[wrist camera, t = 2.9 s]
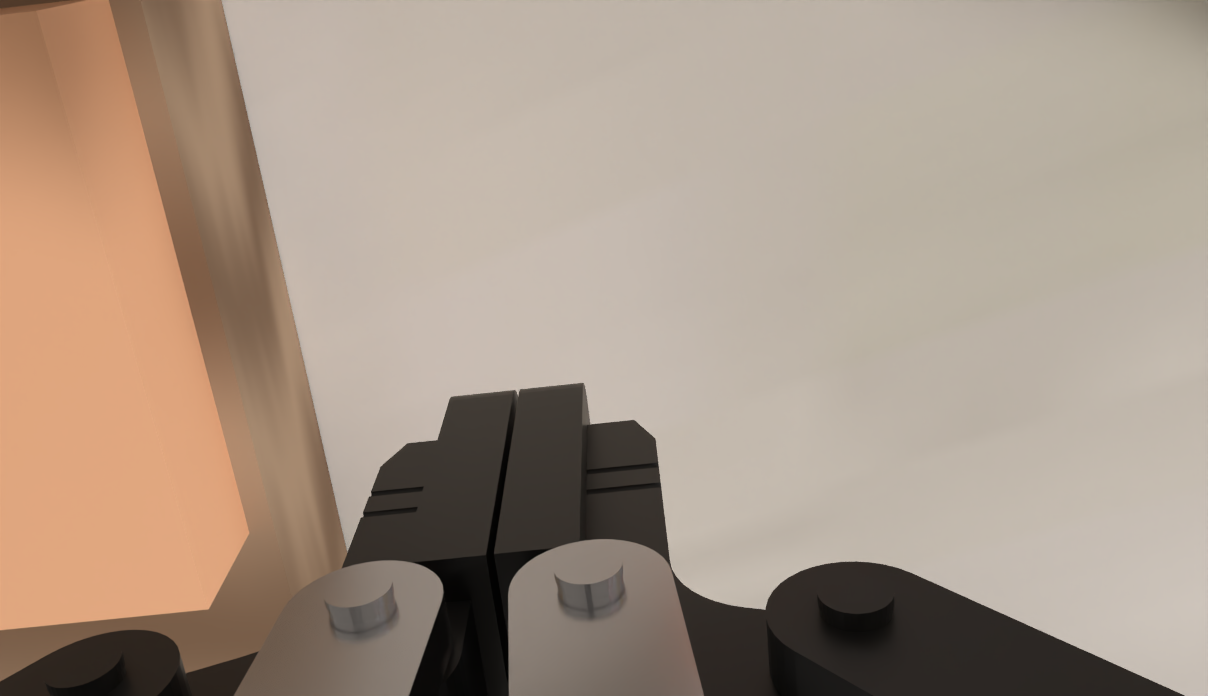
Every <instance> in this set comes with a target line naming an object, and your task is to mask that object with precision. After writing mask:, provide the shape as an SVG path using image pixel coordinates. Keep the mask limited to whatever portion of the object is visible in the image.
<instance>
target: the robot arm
mask: <svg viewBox="0 0 1208 696" xmlns="http://www.w3.org/2000/svg"><path fill="white" fill-rule="evenodd" d="M363 515H364V517H362V518H361V519H360V522H359V524H358V527H357V530H356V532H355V535H354V537H353V540H352V543H351V545H350V548H349V550H348V553H347V555H346V558H345V561H344V563H343V566H342V568H341V569H339V570H336V571H334V572H331V573H329V574H327V575H325V576H322V577H320V578H318V579H316V580H315V581H313V582H311V583H310V584H308V585H307V586H305V587H304V588H303V589H301V590H300V591H299V592H297V593H296V594H295V595H294V596H293V597H292V598H291V599H290V600H289V601H288V603H287V604H286V606H285V607H284V608H283V610H282V612H281V613H280V615H279V617H278V619H277V620H276V622H275V624H274V626H273V627H272V629H271V631H270V633H269V634H268V636H267V638H266V640H265V641H264V643H263V645H262V647H261V649H260V650H259V651H258V652H255V653H252V654H249V655H246V656H243V657H240V658H236V659H233V660H229V661H226V662H222V663H219V664H216V665H212V666H209V667H205V668H202V669H199V670H195V671H192V672H188V673H186V672H185V669H184V665H183V662H182V659H181V655H180V652H179V648H178V646H177V645H176V643H175V642H174V641H173V640H172V639H170V638H169V637H168V636H166V635H163V634H161V633H158V632H154V631H148V630H121V631H115V632H108V633H104V634H100V635H96V636H92V637H89V638H86V639H83V640H80V641H77V642H74V643H72V644H69V645H67V646H65V647H62V648H60V649H58V650H56V651H54V652H52V653H50V654H48V655H46V656H45V657H43V658H41V659H39V660H37V661H36V662H34V663H32V664H30V665H29V666H27V667H25V668H23V669H22V670H20V671H18V672H16V673H14V674H13V675H11V676H9V677H7V678H6V679H4V680H2V681H0V696H1184V695H1182V694H1180V693H1178V692H1175V691H1173V690H1171V689H1169V688H1166V687H1164V686H1162V685H1160V684H1157V683H1155V682H1153V681H1151V680H1149V679H1146V678H1144V677H1142V676H1140V675H1137V674H1135V673H1133V672H1131V671H1128V670H1126V669H1124V668H1122V667H1120V666H1117V665H1115V664H1113V663H1111V662H1108V661H1106V660H1104V659H1102V658H1100V657H1097V656H1095V655H1093V654H1091V653H1088V652H1086V651H1084V650H1082V649H1079V648H1077V647H1075V646H1073V645H1071V644H1068V643H1066V642H1064V641H1062V640H1059V639H1057V638H1055V637H1053V636H1050V635H1048V634H1046V633H1044V632H1042V631H1039V630H1037V629H1035V628H1033V627H1030V626H1028V625H1026V624H1024V623H1021V622H1019V621H1017V620H1015V619H1013V618H1010V617H1008V616H1006V615H1004V614H1001V613H999V612H997V611H995V610H993V609H990V608H988V607H986V606H984V605H981V604H979V603H977V602H975V601H972V600H970V599H968V598H966V597H964V596H961V595H959V594H957V593H955V592H952V591H950V590H948V589H946V588H943V587H941V586H939V585H937V584H935V583H932V582H930V581H928V580H926V579H923V578H921V577H919V576H917V575H914V574H912V573H910V572H907V571H904V570H902V569H899V568H895V567H891V566H887V565H883V564H876V563H869V562H838V563H830V564H824V565H820V566H815V567H812V568H809V569H806V570H803V571H800V572H798V573H796V574H795V575H793V576H791V577H789V578H787V579H786V580H785V581H783V582H782V583H780V584H779V585H778V587H777V588H776V589H775V590H774V591H773V592H772V594H771V595H770V597H769V599H768V602H767V605H766V610H762V609H753V608H744V607H738V606H731V605H727V604H723V603H719V602H715V601H713V600H710V599H707V598H705V597H702V596H700V595H699V594H697V593H695V592H693V591H691V590H690V589H689V588H687V587H686V586H685V585H683V584H682V583H681V582H680V580H679V579H678V578H677V577H676V576H675V574H674V572H673V570H672V568H671V564H670V559H669V550H668V542H667V533H666V525H665V516H664V508H663V500H662V491H661V483H660V474H659V466H658V457H657V449H656V440H655V438H654V437H653V436H652V435H651V434H649V433H648V432H647V431H646V430H645V429H644V428H643V427H641V426H640V425H639V424H638V423H637V422H636V421H635V420H630V421H620V422H610V423H601V424H591V425H590V419H589V411H588V403H587V396H586V390H585V385H584V383H578V384H568V385H559V386H549V387H539V388H530V389H520V391H519V396H518V395H517V392H516V391H515V390H512V391H502V392H493V393H483V394H473V395H464V396H454V397H451V398H450V400H449V403H448V407H447V410H446V413H445V417H444V420H443V424H442V427H441V430H440V434H439V437H438V440H436V441H426V442H417V443H408V444H406V445H405V446H404V447H403V448H402V449H401V450H399V451H398V452H397V453H396V454H395V455H394V456H393V457H391V458H390V459H389V460H388V461H387V462H386V463H385V464H383V465H382V466H381V467H380V470H379V473H378V475H377V478H376V480H375V483H374V486H373V488H372V491H371V497H369V498H368V501H367V504H366V506H365V509H364V511H363Z"/></svg>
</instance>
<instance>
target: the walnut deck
mask: <svg viewBox="0 0 1208 696" xmlns="http://www.w3.org/2000/svg"><path fill="white" fill-rule="evenodd" d="M60 1H69V0H0V8H9V7H18V6H26V5H35V4H43V3H52V2H60ZM109 3H110V7H111V11H112V14H113V18H114V22H115V26H116V29H117V33H118V37H119V41H120V45H121V48H122V52H123V56H124V60H125V64H126V67H127V71H128V75H129V79H130V83H131V86H132V90H133V94H134V98H135V101H136V105H137V109H138V113H139V117H140V120H141V124H142V128H143V132H144V136H145V139H146V143H147V147H148V151H149V154H150V158H151V162H152V166H153V170H154V173H155V177H156V181H157V185H158V189H159V192H160V196H161V200H162V204H163V208H164V211H165V215H166V219H167V223H168V226H169V230H170V234H171V238H172V242H173V245H174V249H175V253H176V257H177V261H178V264H179V268H180V272H181V276H182V280H183V283H184V287H185V291H186V295H187V298H188V302H189V306H190V310H191V314H192V317H193V321H194V325H195V329H196V333H197V336H198V340H199V344H200V348H201V352H202V355H203V359H204V363H205V367H206V370H207V374H208V378H209V382H210V386H211V389H212V393H213V397H214V401H215V405H216V408H217V412H218V416H219V420H220V423H221V427H222V431H223V435H224V439H225V442H226V446H227V450H228V454H229V458H230V461H231V465H232V469H233V473H234V477H235V480H236V484H237V488H238V492H239V495H240V499H241V503H242V507H243V511H244V514H245V518H246V522H247V526H248V530H249V535H248V537H247V539H246V540H245V542H244V544H243V546H242V548H241V550H240V552H239V554H238V555H237V557H236V559H235V561H234V563H233V565H232V567H231V569H230V570H229V572H228V574H227V576H226V578H225V580H224V582H223V584H222V585H221V587H220V589H219V591H218V593H217V595H216V597H215V599H214V600H213V602H212V604H211V606H210V608H209V609H208V610H198V611H188V612H178V613H168V614H158V615H148V616H138V617H128V618H118V619H108V620H98V621H88V622H78V623H68V624H58V625H48V626H38V627H28V628H18V629H8V630H0V681H2V680H4V679H6V678H7V677H9V676H11V675H13V674H14V673H16V672H18V671H20V670H22V669H23V668H25V667H27V666H29V665H30V664H32V663H34V662H36V661H37V660H39V659H41V658H43V657H45V656H46V655H48V654H50V653H52V652H54V651H56V650H58V649H60V648H62V647H65V646H67V645H69V644H72V643H74V642H77V641H80V640H83V639H86V638H89V637H92V636H96V635H100V634H104V633H108V632H115V631H121V630H148V631H154V632H158V633H161V634H163V635H166V636H168V637H169V638H170V639H172V640H173V641H174V642H175V643H176V645H177V646H178V648H179V652H180V655H181V659H182V662H183V665H184V669H185V672H186V673H188V672H192V671H195V670H199V669H202V668H205V667H209V666H212V665H216V664H219V663H222V662H226V661H229V660H233V659H236V658H240V657H243V656H246V655H249V654H252V653H255V652H258V651H259V650H260V649H261V647H262V645H263V643H264V641H265V640H266V638H267V636H268V634H269V633H270V631H271V629H272V627H273V626H274V624H275V622H276V620H277V619H278V617H279V615H280V613H281V612H282V610H283V608H284V607H285V606H286V604H287V603H288V601H289V600H290V599H291V598H292V597H293V596H294V595H295V594H296V593H297V592H299V591H300V590H301V589H303V588H304V587H305V586H307V585H308V584H310V583H311V582H313V581H315V580H316V579H318V578H320V577H322V576H325V575H327V574H329V573H331V572H334V571H336V570H339V569H341V568H342V566H343V563H344V561H345V558H346V555H347V550H346V546H345V541H344V537H343V532H342V528H341V524H340V519H339V515H338V510H337V506H336V502H335V497H334V493H333V488H332V484H331V480H330V475H329V471H328V467H327V462H326V458H325V453H324V449H323V445H322V440H321V436H320V431H319V427H318V423H317V418H316V414H315V409H314V405H313V401H312V396H311V392H310V388H309V383H308V379H307V374H306V370H305V366H304V361H303V357H302V352H301V348H300V344H299V339H298V335H297V331H296V326H295V322H294V317H293V313H292V309H291V304H290V300H289V295H288V291H287V287H286V282H285V278H284V273H283V269H282V265H281V260H280V256H279V252H278V247H277V243H276V238H275V234H274V230H273V225H272V221H271V216H270V212H269V208H268V203H267V199H266V194H265V190H264V186H263V181H262V177H261V173H260V168H259V164H258V159H257V155H256V151H255V146H254V142H253V137H252V133H251V129H250V124H249V120H248V116H247V111H246V107H245V102H244V98H243V94H242V89H241V85H240V80H239V76H238V72H237V67H236V63H235V58H234V54H233V50H232V45H231V41H230V37H229V32H228V28H227V23H226V19H225V15H224V10H223V6H222V1H221V0H109Z"/></svg>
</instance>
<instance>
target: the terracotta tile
mask: <svg viewBox="0 0 1208 696" xmlns="http://www.w3.org/2000/svg"><path fill="white" fill-rule="evenodd" d="M248 535H249V530H248V526H247V522H246V518H245V514H244V511H243V507H242V503H241V499H240V495H239V492H238V488H237V484H236V480H235V477H234V473H233V469H232V465H231V461H230V458H229V454H228V450H227V446H226V442H225V439H224V435H223V431H222V427H221V423H220V420H219V416H218V412H217V408H216V405H215V401H214V397H213V393H212V389H211V386H210V382H209V378H208V374H207V370H206V367H205V363H204V359H203V355H202V352H201V348H200V344H199V340H198V336H197V333H196V329H195V325H194V321H193V317H192V314H191V310H190V306H189V302H188V298H187V295H186V291H185V287H184V283H183V280H182V276H181V272H180V268H179V264H178V261H177V257H176V253H175V249H174V245H173V242H172V238H171V234H170V230H169V226H168V223H167V219H166V215H165V211H164V208H163V204H162V200H161V196H160V192H159V189H158V185H157V181H156V177H155V173H154V170H153V166H152V162H151V158H150V154H149V151H148V147H147V143H146V139H145V136H144V132H143V128H142V124H141V120H140V117H139V113H138V109H137V105H136V101H135V98H134V94H133V90H132V86H131V83H130V79H129V75H128V71H127V67H126V64H125V60H124V56H123V52H122V48H121V45H120V41H119V37H118V33H117V29H116V26H115V22H114V18H113V14H112V11H111V7H110V3H109V0H69V1H60V2H52V3H43V4H35V5H26V6H18V7H9V8H0V630H8V629H18V628H28V627H38V626H48V625H58V624H68V623H78V622H88V621H98V620H108V619H118V618H128V617H138V616H148V615H158V614H168V613H178V612H188V611H198V610H208V609H209V608H210V606H211V604H212V602H213V600H214V599H215V597H216V595H217V593H218V591H219V589H220V587H221V585H222V584H223V582H224V580H225V578H226V576H227V574H228V572H229V570H230V569H231V567H232V565H233V563H234V561H235V559H236V557H237V555H238V554H239V552H240V550H241V548H242V546H243V544H244V542H245V540H246V539H247V537H248Z"/></svg>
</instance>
